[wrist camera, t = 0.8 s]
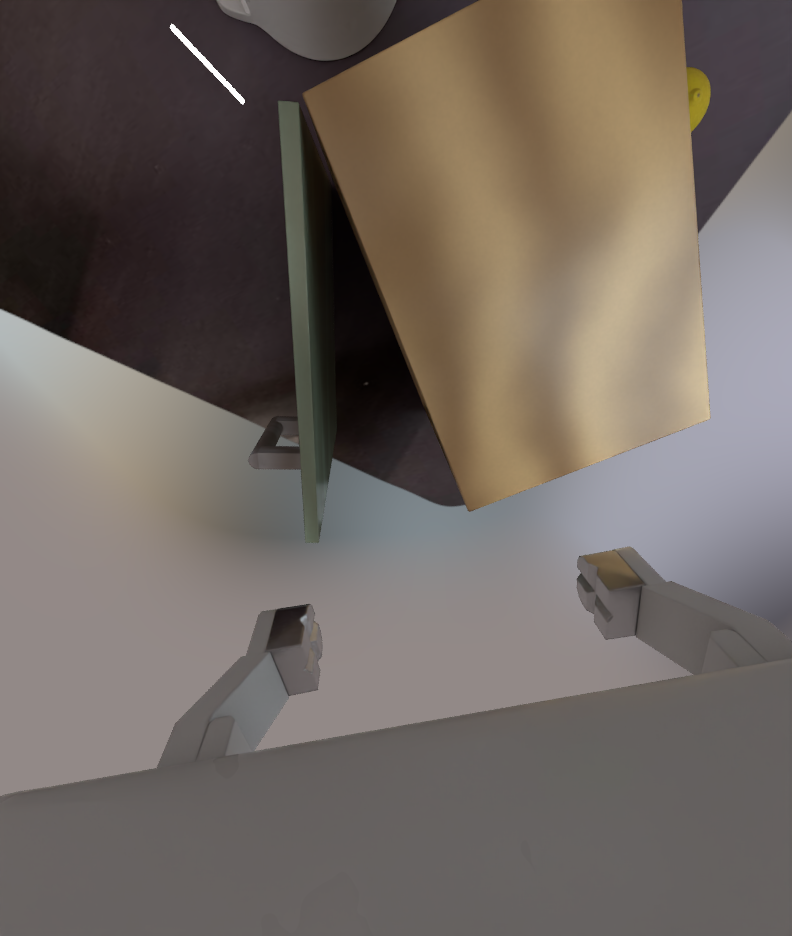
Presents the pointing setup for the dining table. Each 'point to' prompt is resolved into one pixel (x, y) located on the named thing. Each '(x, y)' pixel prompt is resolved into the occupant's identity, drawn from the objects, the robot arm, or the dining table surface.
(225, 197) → the dining table surface
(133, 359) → the dining table surface
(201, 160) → the dining table surface
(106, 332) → the dining table surface
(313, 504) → the door
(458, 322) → the cupboard
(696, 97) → the lemon
